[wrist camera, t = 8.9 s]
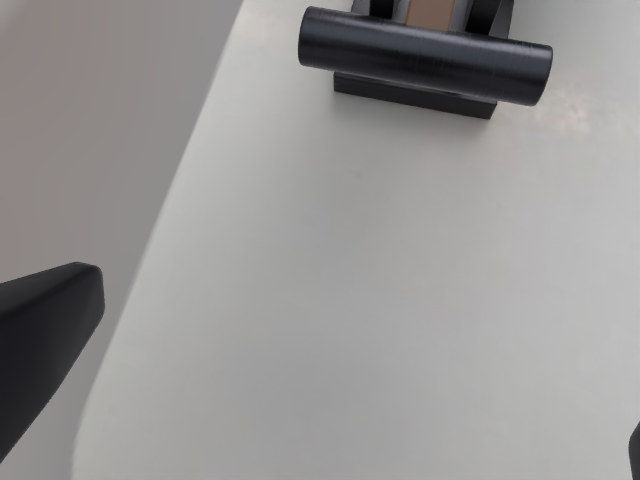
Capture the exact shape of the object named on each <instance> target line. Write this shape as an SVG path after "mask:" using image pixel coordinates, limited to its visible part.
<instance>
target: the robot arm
mask: <svg viewBox="0 0 640 480" xmlns="http://www.w3.org/2000/svg"><path fill="white" fill-rule="evenodd" d="M104 310H105V299H104V287H103V275H102V271H101V269H100V268H99V267H97V266H94V265H90V264H86V263H82V262H73V263H69V264H66V265H62V266H59V267H56V268H52V269H49V270H45V271H42V272H38V273H35V274H32V275H28V276H25V277H22V278H18V279H15V280H11V281H8V282H4V283H1V284H0V463H1V462H2V461H3V460H4V458H5V457H6V456H7V454H8V453H9V452H10V451H11V449H12V448H13V447H14V446H15V444H16V443H17V442H18V440H19V439H20V438H21V437H22V435H23V434H24V433H25V431H26V430H27V429H28V428H29V426H30V425H31V424H32V422H33V421H34V420H35V418H36V417H37V416H38V415H39V414H40V412H41V411H42V410H43V408H44V407H45V406H46V404H47V403H48V402H49V400H50V399H51V398H52V396H53V395H54V393H55V392H56V391H57V389H58V388H59V386H60V385H61V383H62V382H63V380H64V379H65V377H66V376H67V374H68V372H69V371H70V369H71V368H72V366H73V364H74V363H75V361H76V360H77V358H78V356H79V355H80V353H81V352H82V350H83V348H84V347H85V345H86V343H87V342H88V340H89V339H90V337H91V335H92V334H93V332H94V331H95V329H96V327H97V326H98V324H99V323H100V321H101V319H102V317H103V314H104ZM629 458H630V464H631V471H632V477H633V480H640V422H639V423H638V425H637V427H636V428H635V430H634V432H633V433H632V435H631V438H630V441H629Z"/></svg>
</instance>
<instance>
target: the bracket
mask: <svg viewBox="0 0 640 480" xmlns="http://www.w3.org/2000/svg"><path fill="white" fill-rule="evenodd" d="M408 3H409V0H354V2H353V5H352V9H351V13H355V14H361V15H367V16H373V17H379V18H385V19H391V20H397V21H404V22H405V17H406V13H407V8H408ZM513 4H514V0H456V3H455V7H454V12H453V16H452V21H451V25H450V29H452V30H458V31H464V32H470V33H476V34H482V35H488V36H494V37H500V38H506V39H508V35H509V29H510V22H511V16H512V10H513ZM333 76H334V91H337V92H342V93H347V94H353V95H358V96H364V97H369V98H375V99H380V100H386V101H391V102H396V103H402V104H407V105H413V106H418V107H424V108H429V109H435V110H440V111H445V112H451V113H456V114H462V115H467V116H473V117H478V118H484V119H490V118H491V116H492V114H493V112H494V110H495V108H496V106H497V100H492V99H486V98H481V97H475V96H469V95H464V94H458V93H453V92H447V91H442V90H436V89H430V88H425V87H419V86H414V85H408V84H402V83H397V82H391V81H386V80H380V79H375V78H369V77H363V76H358V75H352V74H347V73H341V72H334V75H333Z"/></svg>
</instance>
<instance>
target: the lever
mask: <svg viewBox="0 0 640 480" xmlns="http://www.w3.org/2000/svg"><path fill="white" fill-rule="evenodd" d="M455 3H456V0H409V3H408V8H407V13H406V17H405V22H404V21H397V20H391V19H385V18H379V17H373V16H367V15H361V14H355V13H349V12H343V11H337V10H331V9H325V8H319V7H313V6H310V7H308V8H307V9H306V11H305V13H304V16H303V19H302V23H301V27H300V33H299V41H298V58H299V62H300V64H301V65H303V66H308V67H313V68H319V69H324V70H330V71H335V72H341V73H347V74H352V75H358V76H363V77H369V78H375V79H380V80H386V81H391V82H397V83H402V84H408V85H414V86H419V87H425V88H430V89H436V90H442V91H447V92H453V93H458V94H464V95H469V96H475V97H481V98H486V99H492V100H497V101H503V102H509V103H514V104H520V105H525V106H535V105H536V104H537V102H538V101H539V99H540V98H541V96H542V94H543V91H544V89H545V86H546V84H547V81H548V78H549V74H550V70H551V66H552V59H553V49H552V47H551V46H549V45H543V44H537V43H531V42H525V41H518V40H512V39H506V38H500V37H494V36H488V35H482V34H476V33H470V32H464V31H458V30H452V29H450V25H451V21H452V16H453V12H454V7H455Z"/></svg>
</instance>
